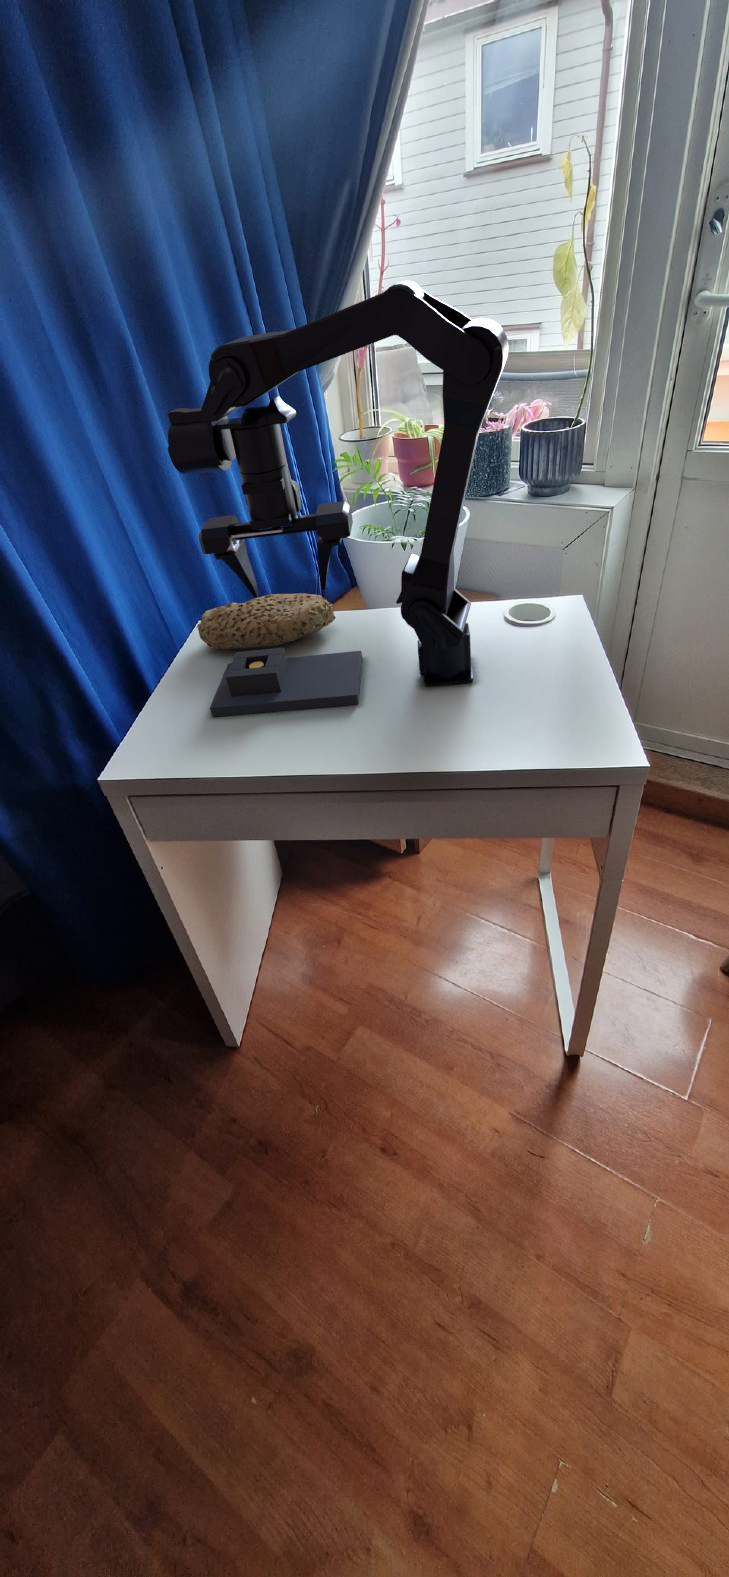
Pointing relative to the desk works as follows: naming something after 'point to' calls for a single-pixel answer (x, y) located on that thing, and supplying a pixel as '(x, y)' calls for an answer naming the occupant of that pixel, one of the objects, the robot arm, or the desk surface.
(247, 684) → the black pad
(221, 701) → the base pad
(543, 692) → the desk surface
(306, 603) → the sponge
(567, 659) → the desk surface
